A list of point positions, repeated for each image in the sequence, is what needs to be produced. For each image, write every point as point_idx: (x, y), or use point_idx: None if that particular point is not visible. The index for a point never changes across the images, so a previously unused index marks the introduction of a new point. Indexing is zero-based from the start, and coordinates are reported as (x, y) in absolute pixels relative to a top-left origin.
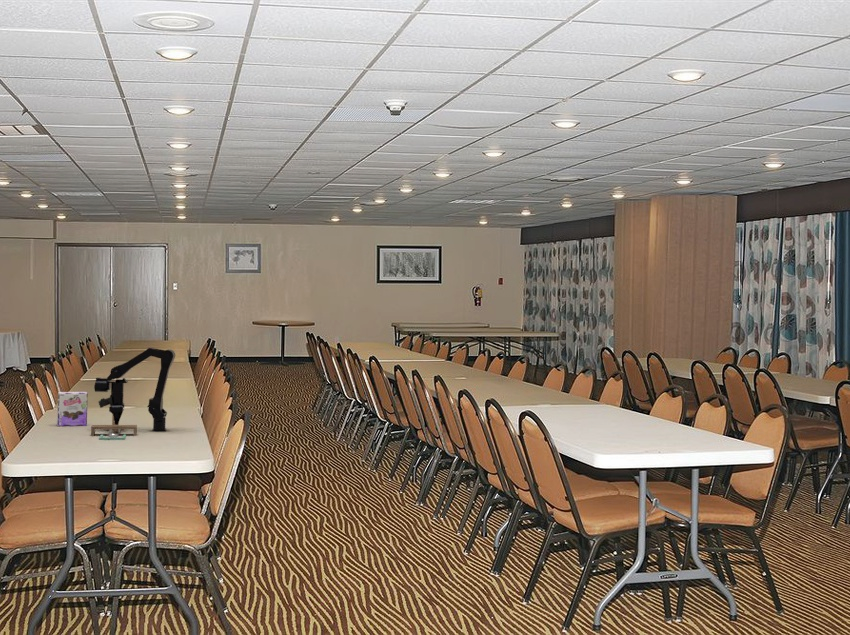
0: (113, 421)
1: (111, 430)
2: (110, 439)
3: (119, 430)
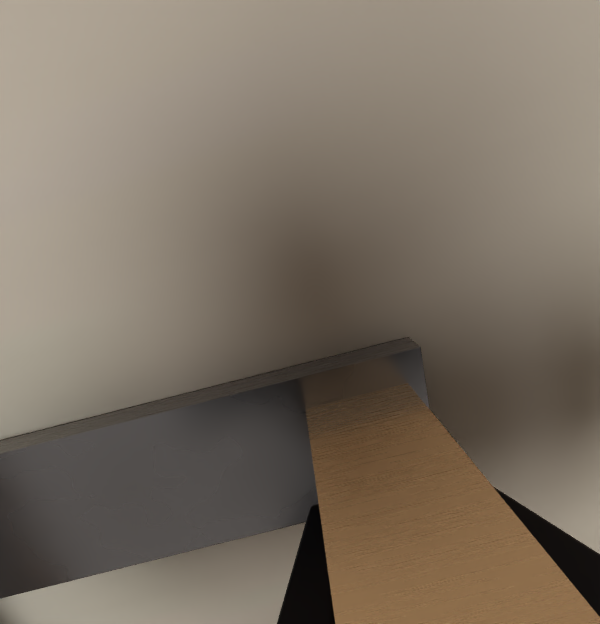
0: (327, 542)
1: (77, 469)
2: None
3: (120, 561)
